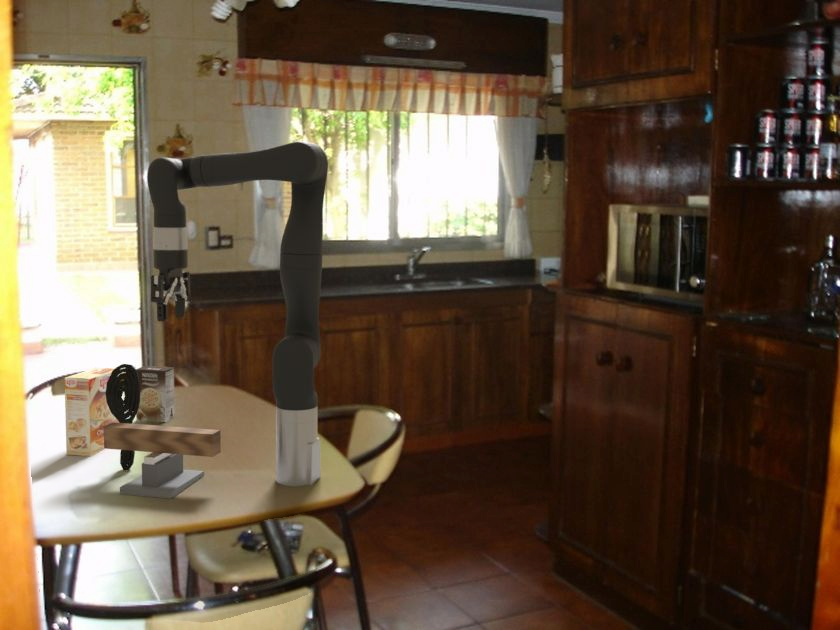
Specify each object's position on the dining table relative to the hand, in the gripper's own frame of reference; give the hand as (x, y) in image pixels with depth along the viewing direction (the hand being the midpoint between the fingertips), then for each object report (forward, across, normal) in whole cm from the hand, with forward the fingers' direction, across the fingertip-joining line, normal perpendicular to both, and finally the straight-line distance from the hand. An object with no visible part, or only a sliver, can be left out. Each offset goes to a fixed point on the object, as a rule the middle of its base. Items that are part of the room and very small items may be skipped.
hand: (171, 319), depth 213 cm
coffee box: (+36, +43, +28) cm, 63 cm away
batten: (+28, -9, -2) cm, 30 cm away
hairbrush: (+36, 0, +12) cm, 38 cm away
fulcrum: (+36, -9, -2) cm, 37 cm away
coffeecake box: (+36, +15, +30) cm, 49 cm away
